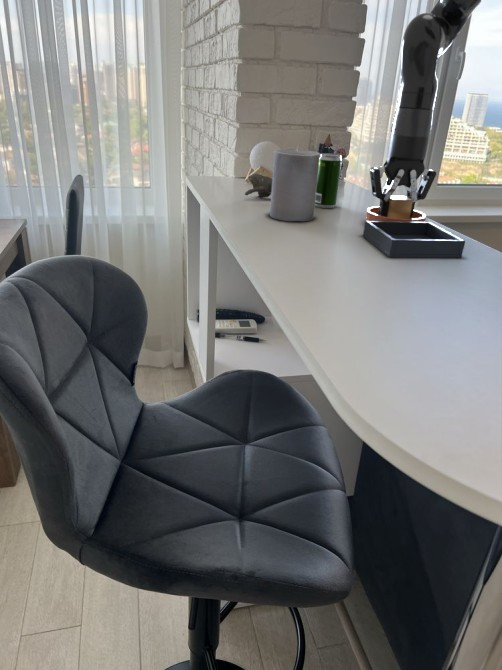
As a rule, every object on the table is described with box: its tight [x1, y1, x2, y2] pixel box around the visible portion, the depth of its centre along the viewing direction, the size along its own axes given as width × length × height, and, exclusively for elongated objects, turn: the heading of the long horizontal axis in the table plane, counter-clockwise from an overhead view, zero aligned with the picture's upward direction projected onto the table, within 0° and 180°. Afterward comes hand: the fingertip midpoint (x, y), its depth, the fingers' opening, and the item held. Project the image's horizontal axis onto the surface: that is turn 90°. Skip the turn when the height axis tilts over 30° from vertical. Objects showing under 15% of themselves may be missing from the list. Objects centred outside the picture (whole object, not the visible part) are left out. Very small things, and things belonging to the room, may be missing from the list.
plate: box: [364, 205, 427, 222], centre depth 108 cm, size 12×12×3 cm
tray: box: [362, 220, 466, 259], centre depth 94 cm, size 14×14×3 cm
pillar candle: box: [269, 144, 321, 222], centre depth 108 cm, size 10×10×15 cm
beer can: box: [315, 152, 343, 209], centre depth 121 cm, size 5×5×12 cm
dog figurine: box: [244, 173, 272, 198], centre depth 127 cm, size 12×6×7 cm, turn 91°
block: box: [387, 194, 413, 219], centre depth 107 cm, size 4×4×4 cm
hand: (394, 218), depth 108 cm, fingers closed on block, 4 cm apart
